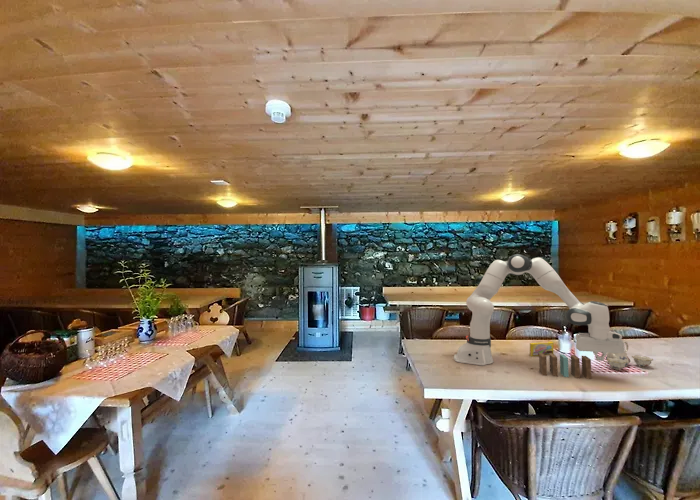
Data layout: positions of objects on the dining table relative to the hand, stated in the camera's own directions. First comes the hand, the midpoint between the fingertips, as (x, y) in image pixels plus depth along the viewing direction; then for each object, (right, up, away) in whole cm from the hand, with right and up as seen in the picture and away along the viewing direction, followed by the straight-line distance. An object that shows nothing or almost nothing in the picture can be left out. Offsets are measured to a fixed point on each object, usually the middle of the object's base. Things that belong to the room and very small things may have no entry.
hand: (600, 360), depth 164 cm
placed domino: (-16, -9, +4) cm, 19 cm away
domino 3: (-11, -9, +3) cm, 14 cm away
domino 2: (-20, -9, +6) cm, 23 cm away
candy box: (-8, -10, +37) cm, 39 cm away
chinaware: (+26, -9, +16) cm, 32 cm away
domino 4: (-6, -9, +1) cm, 11 cm away
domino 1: (-25, -10, +7) cm, 28 cm away
